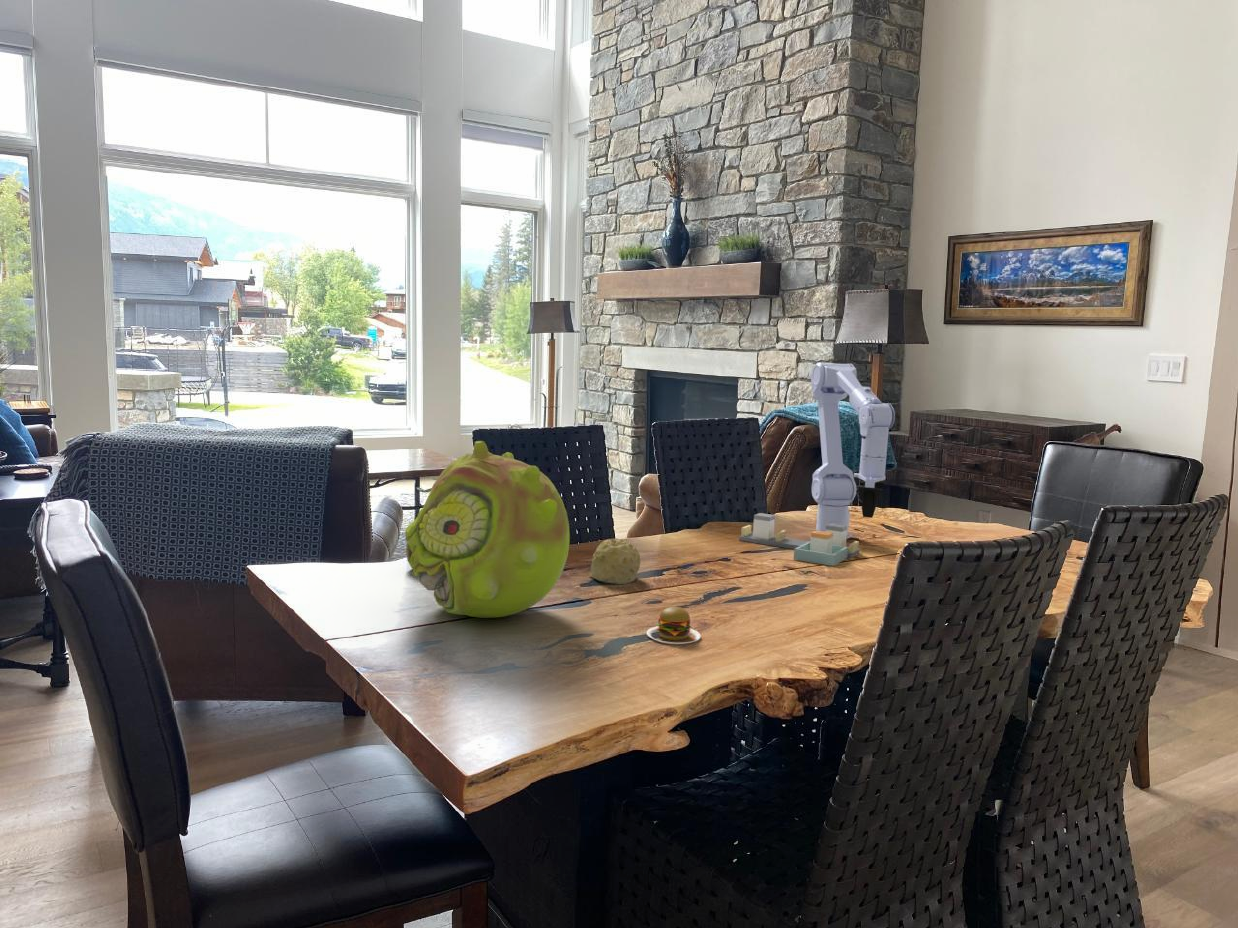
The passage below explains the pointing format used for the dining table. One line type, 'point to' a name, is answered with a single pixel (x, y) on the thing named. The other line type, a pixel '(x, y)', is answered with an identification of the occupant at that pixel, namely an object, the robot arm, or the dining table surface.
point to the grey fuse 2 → (838, 533)
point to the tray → (820, 555)
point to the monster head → (489, 536)
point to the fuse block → (787, 541)
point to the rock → (615, 562)
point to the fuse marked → (821, 541)
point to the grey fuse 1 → (763, 526)
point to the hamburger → (674, 626)
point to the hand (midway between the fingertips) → (868, 514)
